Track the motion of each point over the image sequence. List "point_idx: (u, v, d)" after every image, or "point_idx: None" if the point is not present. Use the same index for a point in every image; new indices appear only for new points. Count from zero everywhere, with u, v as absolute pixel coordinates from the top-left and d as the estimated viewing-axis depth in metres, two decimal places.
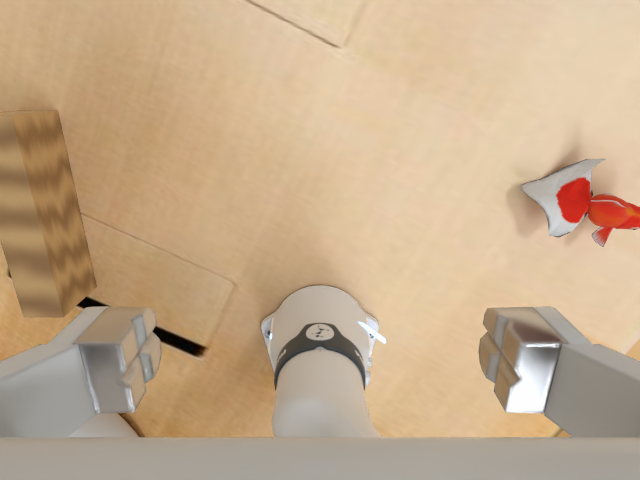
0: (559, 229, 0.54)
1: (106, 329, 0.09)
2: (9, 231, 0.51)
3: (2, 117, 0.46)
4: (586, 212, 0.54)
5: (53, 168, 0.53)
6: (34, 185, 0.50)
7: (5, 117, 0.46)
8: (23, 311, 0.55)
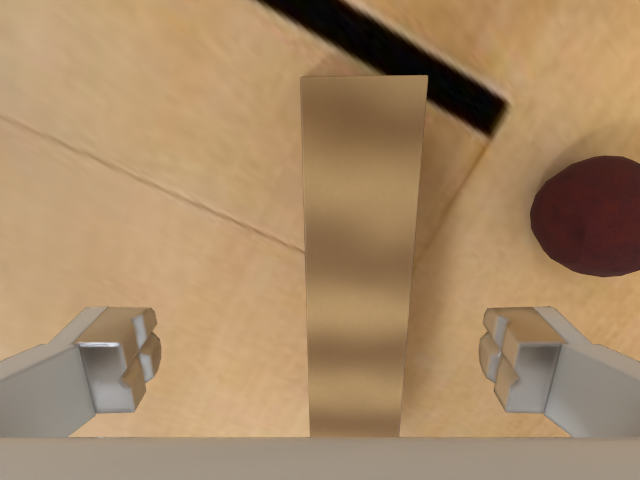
0: None
1: (106, 329, 0.09)
2: (380, 326, 0.22)
3: None
4: None
5: None
6: None
7: None
8: (422, 97, 0.18)
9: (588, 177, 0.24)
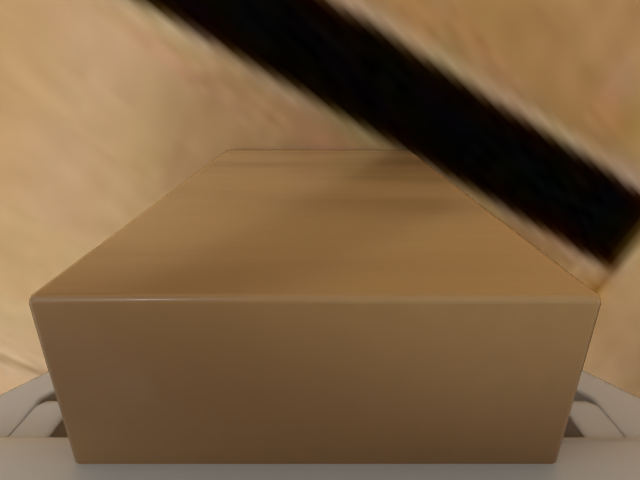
0: None
1: None
2: None
3: None
4: None
5: None
6: None
7: None
8: (566, 374, 0.04)
9: None
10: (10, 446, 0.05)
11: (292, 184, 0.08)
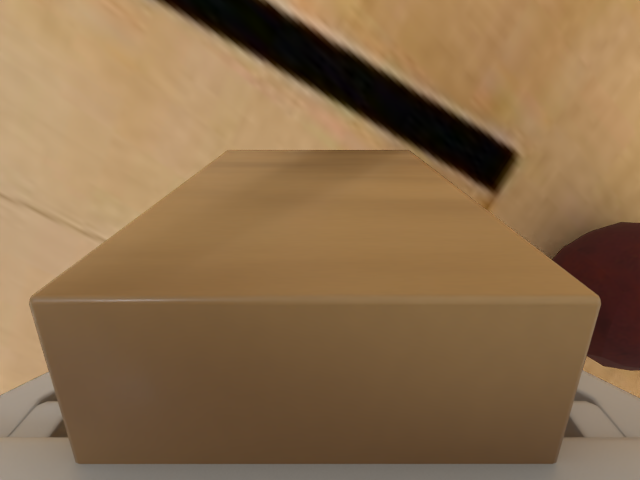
0: None
1: None
2: None
3: None
4: None
5: None
6: None
7: None
8: (566, 374, 0.04)
9: (614, 252, 0.19)
10: (10, 446, 0.05)
11: (292, 184, 0.08)
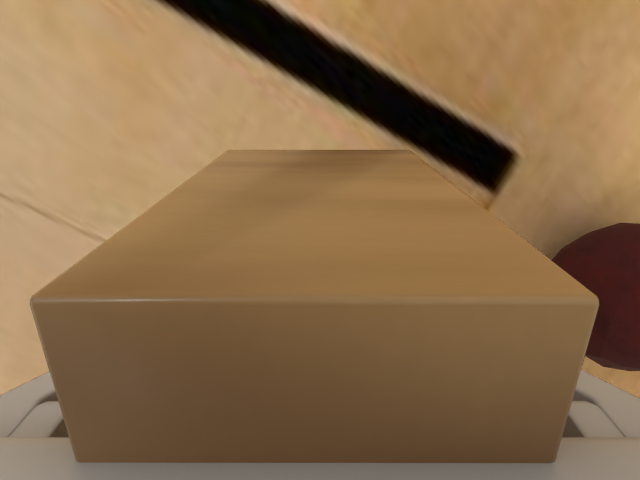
0: None
1: None
2: None
3: None
4: None
5: None
6: None
7: None
8: (565, 375, 0.04)
9: (613, 253, 0.19)
10: (10, 446, 0.05)
11: (292, 184, 0.08)
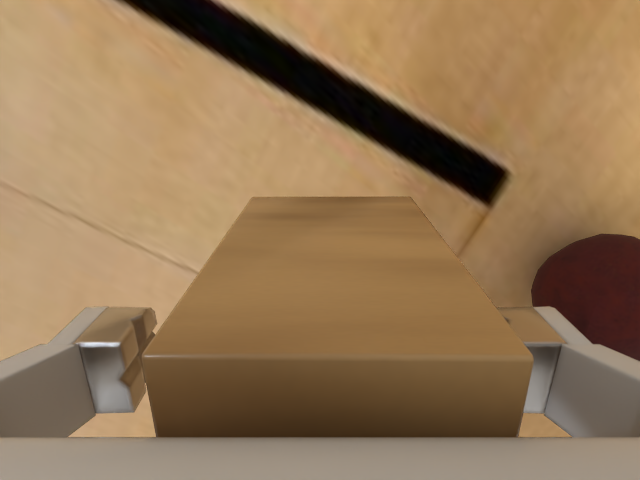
0: None
1: (106, 329, 0.09)
2: None
3: None
4: None
5: None
6: None
7: None
8: (513, 409, 0.06)
9: (593, 261, 0.22)
10: (10, 446, 0.05)
11: (312, 241, 0.10)
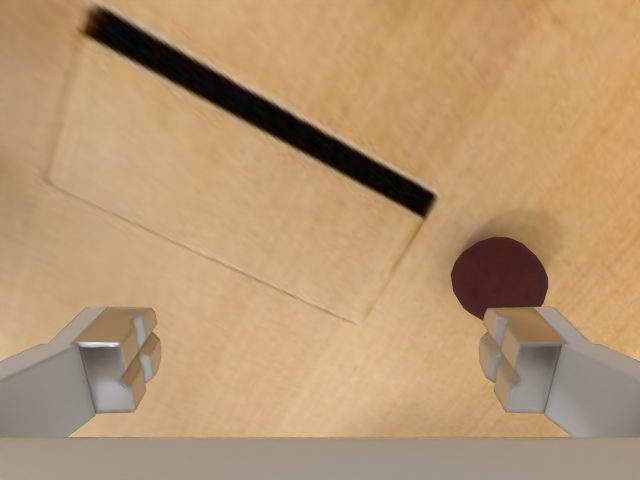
0: None
1: (106, 329, 0.09)
2: None
3: None
4: None
5: None
6: None
7: None
8: None
9: (483, 255, 0.34)
10: (10, 446, 0.05)
11: None
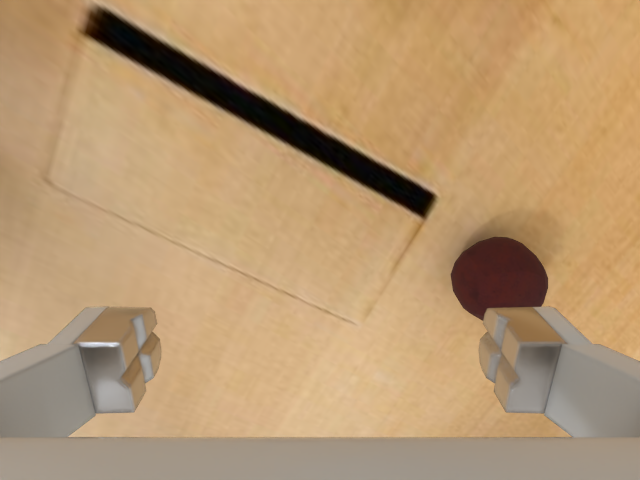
0: None
1: (106, 329, 0.09)
2: None
3: None
4: None
5: None
6: None
7: None
8: None
9: (483, 255, 0.34)
10: (10, 446, 0.05)
11: None
